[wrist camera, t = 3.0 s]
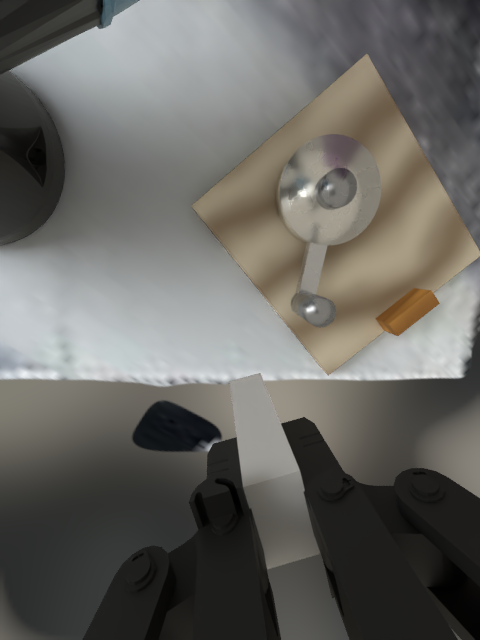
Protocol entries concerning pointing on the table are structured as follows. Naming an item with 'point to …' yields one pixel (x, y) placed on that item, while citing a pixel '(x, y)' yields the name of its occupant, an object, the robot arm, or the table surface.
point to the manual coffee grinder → (325, 209)
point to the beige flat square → (365, 249)
